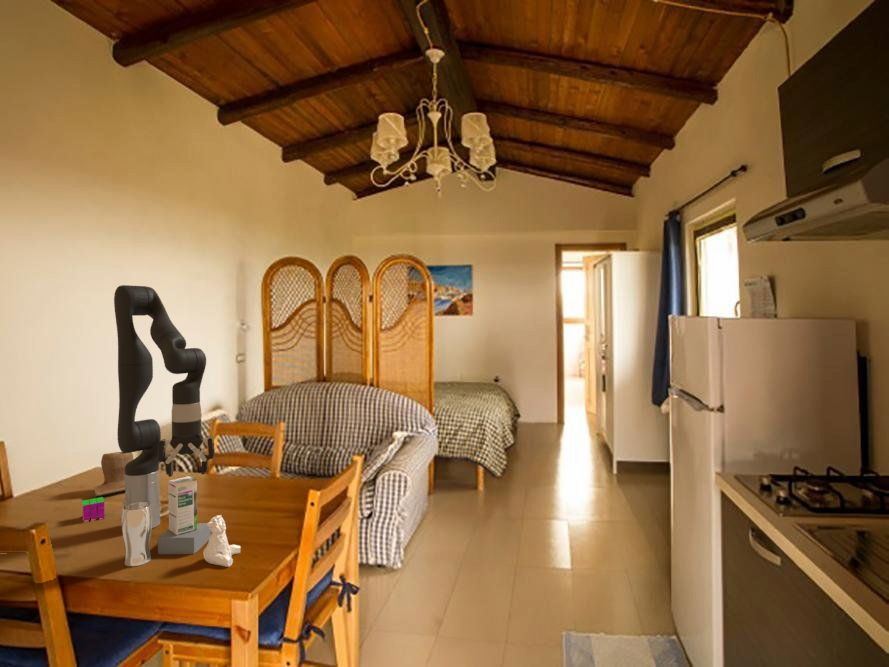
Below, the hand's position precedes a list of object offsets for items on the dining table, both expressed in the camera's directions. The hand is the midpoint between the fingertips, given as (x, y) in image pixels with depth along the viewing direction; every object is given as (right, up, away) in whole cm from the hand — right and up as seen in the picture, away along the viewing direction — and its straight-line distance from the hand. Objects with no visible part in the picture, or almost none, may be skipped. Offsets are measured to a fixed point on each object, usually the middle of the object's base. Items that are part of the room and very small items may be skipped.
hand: (187, 474), depth 146 cm
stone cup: (-52, -20, +48) cm, 73 cm away
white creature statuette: (+13, -21, -9) cm, 26 cm away
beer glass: (-9, -21, -9) cm, 24 cm away
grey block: (-1, -21, 0) cm, 21 cm away
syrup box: (-1, -16, 0) cm, 16 cm away
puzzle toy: (-42, -21, +22) cm, 51 cm away
